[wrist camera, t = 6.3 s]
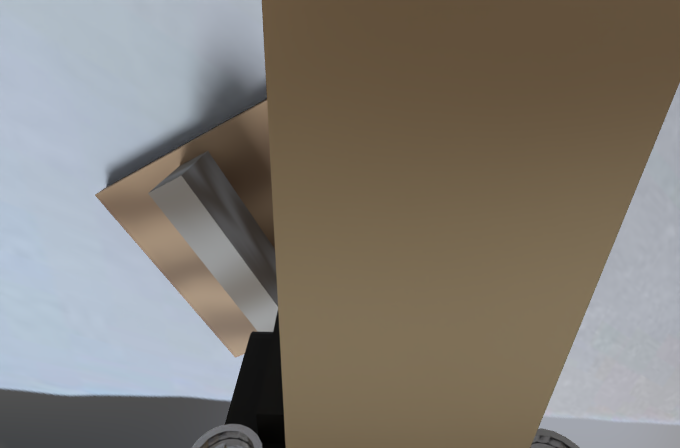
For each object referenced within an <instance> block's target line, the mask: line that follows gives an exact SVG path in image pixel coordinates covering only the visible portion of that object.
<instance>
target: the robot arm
mask: <svg viewBox="0 0 680 448" xmlns="http://www.w3.org/2000/svg"><path fill="white" fill-rule="evenodd" d="M192 448H286V445H285V426H284V407H283V389H282V370H281V351H280V332H279V314H278V311H277V316H276V321H275V326H274V330H273V332H255V331H252V333H251V334H250V337H249V340H248V344H247V347H246V351H245V354H244V358H243V362H242V365H241V369H240V372H239V376H238V379H237V383H236V387H235V390H234V394H233V397H232V401H231V405H230V408H229V411H228V415H227V419H226V422H225V425H222V426H218V427H216V428H214V429H212V430H210V431H208V432H206V433H205V434H204V435H203V436H202V437H201V438H199V439H198V440H197V441H196V443H195V444H194V445H193V447H192ZM530 448H579V447H578V446H577V445H576V444H575V443H573V442H572V441H571V440H569V439H567V438H566V437H564V436H562V435H560V434H558V433H556V432H554V431H550V430H546V429H538V430H537V432H536V435H535V437H534V440H533V442H532V444H531V447H530Z"/></svg>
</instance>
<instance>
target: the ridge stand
mask: <svg viewBox="0 0 680 448" xmlns="http://www.w3.org/2000/svg"><path fill="white" fill-rule="evenodd" d="M95 196H96V197H97V198H98V199H99V200H100V201H101V203H102V204H103V205H104V206H105V207H106V208H107V210H108V211H109V212H110V213H111V214H112V215H113V217H114V218H115V219H116V220H117V221H118V222H119V223H120V225H121V226H122V227H123V228H124V229H125V230H126V232H127V233H128V234H129V235H130V236H131V237H132V239H133V240H134V241H135V242H136V243H137V244H138V245H139V247H140V248H141V249H142V250H143V251H144V252H145V254H146V255H147V256H148V257H149V258H150V259H151V260H152V262H153V263H154V264H155V265H156V266H157V267H158V269H159V270H160V271H161V272H162V273H163V274H164V276H165V277H166V278H167V279H168V280H169V281H170V282H171V284H172V285H173V286H174V287H175V288H176V289H177V291H178V292H179V293H180V294H181V295H182V296H183V298H184V299H185V300H186V301H187V302H188V303H189V304H190V306H191V307H192V308H193V309H194V310H195V311H196V313H197V314H198V315H199V316H200V317H201V318H202V319H203V321H204V322H205V323H206V324H207V325H208V326H209V328H210V329H211V330H212V331H213V332H214V333H215V335H216V336H217V337H218V338H219V339H220V340H221V341H222V343H223V344H224V345H225V346H226V347H227V348H228V350H229V351H230V352H231V353H232V354H233V355H234V357H238V356H240V355H243V354H245V351H246V347H247V344H248V340H249V337H250V334H251V333H252V331H255V332H273V330H274V326H275V321H276V316H277V311H278V295H277V276H276V257H275V238H274V220H273V201H272V182H271V163H270V145H269V126H268V107H267V99H265V100H264V101H262V102H260V103H258V104H256V105H255V106H253V107H251V108H249V109H247V110H245V111H244V112H242V113H240V114H238V115H236V116H235V117H233V118H231V119H229V120H227V121H226V122H224V123H222V124H220V125H218V126H216V127H215V128H213V129H211V130H209V131H207V132H206V133H204V134H202V135H200V136H198V137H197V138H195V139H193V140H191V141H189V142H187V143H186V144H184V145H182V146H180V147H178V148H177V149H175V150H173V151H171V152H169V153H168V154H166V155H164V156H162V157H160V158H158V159H157V160H155V161H153V162H151V163H149V164H148V165H146V166H144V167H142V168H140V169H139V170H137V171H135V172H133V173H131V174H129V175H128V176H126V177H124V178H122V179H120V180H119V181H117V182H115V183H113V184H111V185H110V186H108V187H106V188H104V189H103V190H102V191H100V192H99V193H97V194H96V195H95Z"/></svg>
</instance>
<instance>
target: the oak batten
mask: <svg viewBox="0 0 680 448" xmlns="http://www.w3.org/2000/svg"><path fill="white" fill-rule="evenodd" d="M262 13H263V32H264V51H265V70H266V88H267V107H268V126H269V145H270V163H271V182H272V201H273V220H274V238H275V257H276V276H277V295H278V314H279V332H280V351H281V370H282V389H283V407H284V426H285V445H286V448H530V447H531V444H532V442H533V440H534V437H535V435H536V432H537V430H538V427H539V425H540V422H541V420H542V418H543V415H544V413H545V410H546V408H547V405H548V403H549V400H550V398H551V396H552V393H553V391H554V388H555V386H556V383H557V381H558V378H559V376H560V374H561V371H562V369H563V366H564V364H565V361H566V359H567V356H568V354H569V352H570V349H571V347H572V344H573V342H574V339H575V337H576V334H577V332H578V330H579V327H580V325H581V322H582V320H583V317H584V315H585V312H586V310H587V308H588V305H589V303H590V300H591V298H592V295H593V293H594V290H595V288H596V286H597V283H598V281H599V278H600V276H601V273H602V271H603V268H604V266H605V264H606V261H607V259H608V256H609V254H610V251H611V249H612V246H613V244H614V242H615V239H616V237H617V234H618V232H619V229H620V227H621V224H622V222H623V220H624V217H625V215H626V212H627V210H628V207H629V205H630V202H631V200H632V198H633V195H634V193H635V190H636V188H637V185H638V183H639V180H640V178H641V176H642V173H643V171H644V168H645V166H646V163H647V161H648V158H649V156H650V154H651V151H652V149H653V146H654V144H655V141H656V139H657V136H658V134H659V132H660V129H661V127H662V124H663V122H664V119H665V117H666V114H667V112H668V110H669V107H670V105H671V102H672V100H673V97H674V95H675V92H676V90H677V88H678V85H679V83H680V0H262Z"/></svg>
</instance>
